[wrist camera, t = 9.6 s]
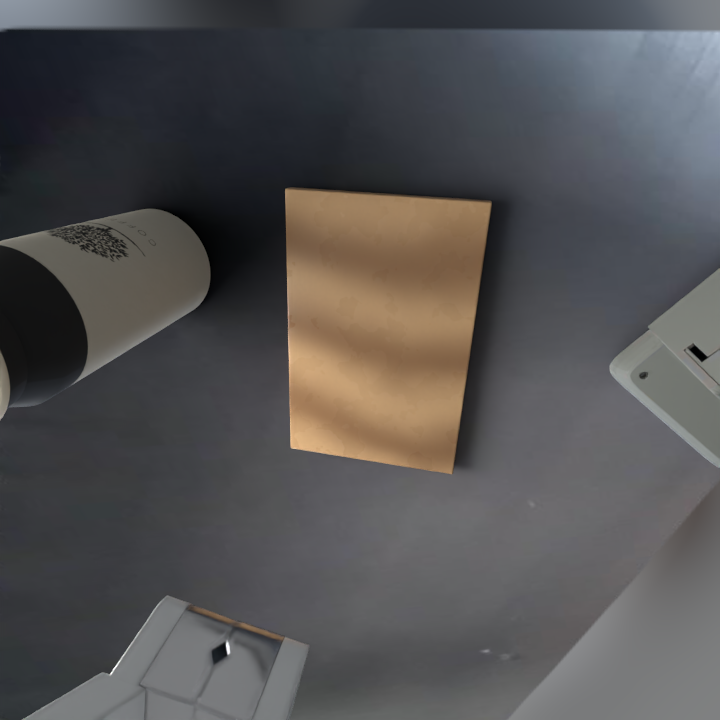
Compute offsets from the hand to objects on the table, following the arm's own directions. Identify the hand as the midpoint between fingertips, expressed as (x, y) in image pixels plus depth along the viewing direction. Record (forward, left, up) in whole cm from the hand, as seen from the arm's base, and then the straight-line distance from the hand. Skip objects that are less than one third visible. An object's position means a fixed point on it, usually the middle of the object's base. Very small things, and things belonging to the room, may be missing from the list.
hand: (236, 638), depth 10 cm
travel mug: (0, -18, -27) cm, 33 cm away
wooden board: (+4, -2, -27) cm, 27 cm away
